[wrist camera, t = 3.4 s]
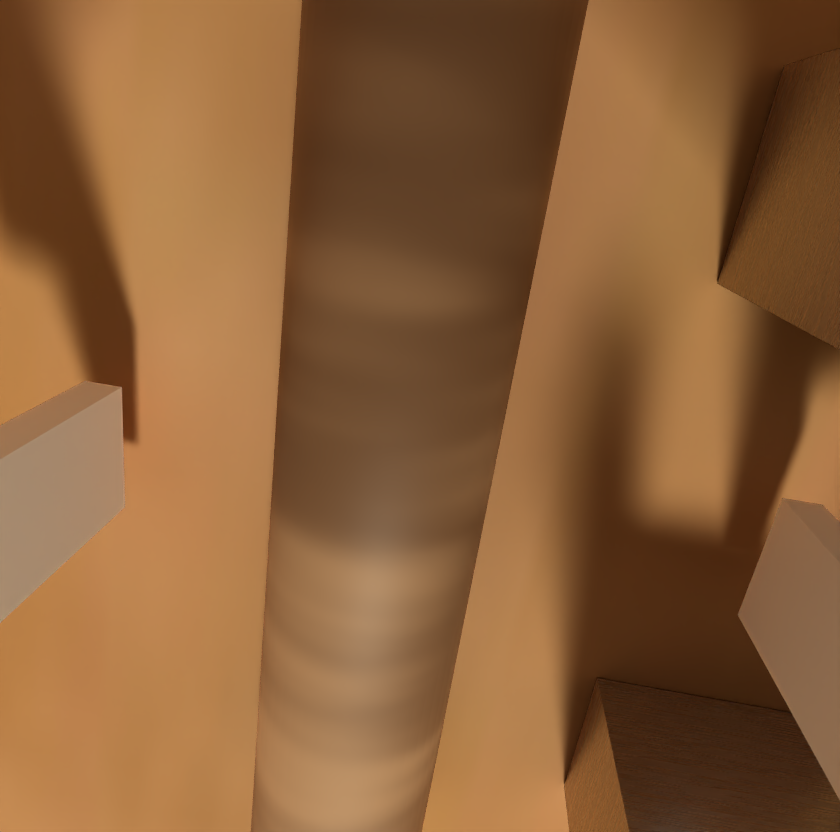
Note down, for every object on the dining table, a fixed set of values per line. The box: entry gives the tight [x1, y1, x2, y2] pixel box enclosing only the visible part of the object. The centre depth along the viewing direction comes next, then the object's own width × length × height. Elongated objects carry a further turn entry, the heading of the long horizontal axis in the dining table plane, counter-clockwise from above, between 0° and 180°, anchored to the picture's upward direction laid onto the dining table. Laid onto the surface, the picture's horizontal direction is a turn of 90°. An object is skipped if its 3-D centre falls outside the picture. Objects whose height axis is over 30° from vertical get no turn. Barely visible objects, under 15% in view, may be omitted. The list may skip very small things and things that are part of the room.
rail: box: [251, 0, 588, 832], centre depth 13 cm, size 19×4×4 cm, turn 172°
